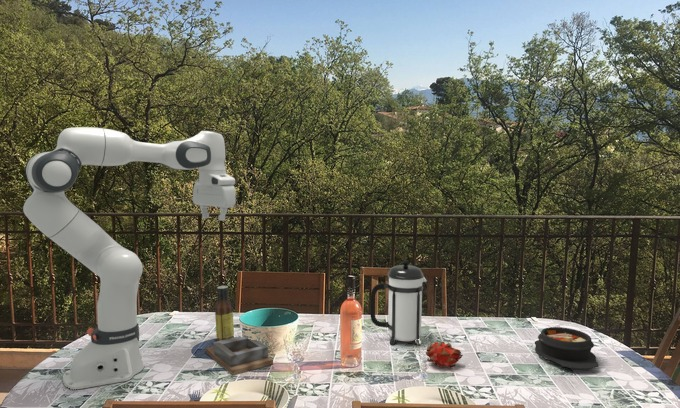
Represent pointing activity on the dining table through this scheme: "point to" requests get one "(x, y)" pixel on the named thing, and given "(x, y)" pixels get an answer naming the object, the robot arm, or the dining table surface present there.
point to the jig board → (241, 367)
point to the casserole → (566, 347)
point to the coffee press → (402, 303)
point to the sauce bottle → (224, 315)
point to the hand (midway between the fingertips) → (213, 219)
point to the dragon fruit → (443, 354)
